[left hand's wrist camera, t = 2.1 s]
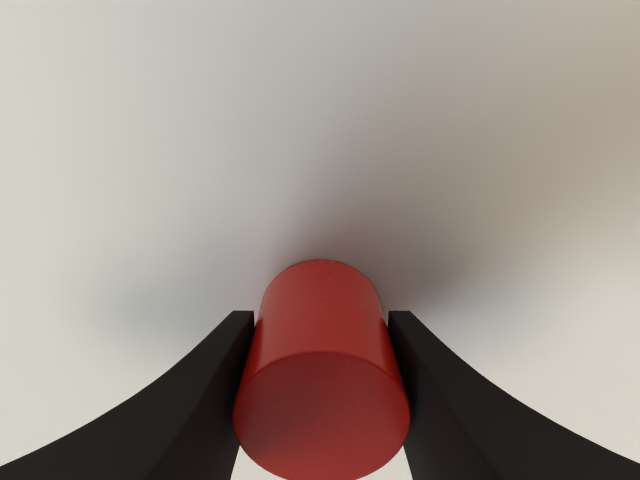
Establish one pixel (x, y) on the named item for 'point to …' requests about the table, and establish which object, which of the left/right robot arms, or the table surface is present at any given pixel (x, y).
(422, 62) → the table surface
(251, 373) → the can
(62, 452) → the left robot arm
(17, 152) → the table surface
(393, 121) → the table surface
